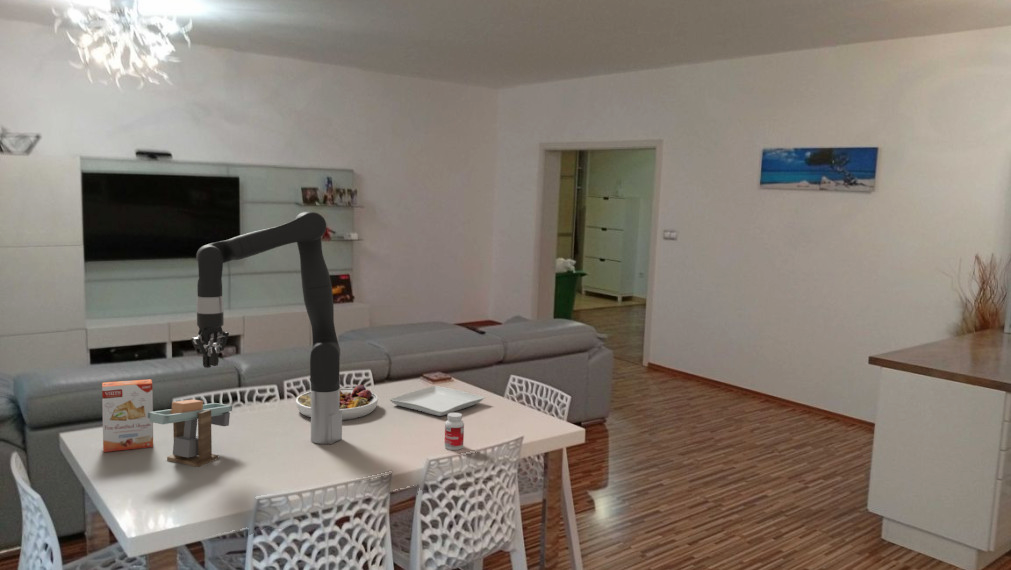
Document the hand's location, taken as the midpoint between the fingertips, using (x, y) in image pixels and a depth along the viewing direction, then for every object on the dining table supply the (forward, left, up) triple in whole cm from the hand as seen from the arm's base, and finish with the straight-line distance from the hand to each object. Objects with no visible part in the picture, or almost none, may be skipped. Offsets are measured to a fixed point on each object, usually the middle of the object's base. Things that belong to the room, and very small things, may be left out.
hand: (210, 366), depth 226 cm
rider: (0, +10, -13) cm, 16 cm away
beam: (0, +10, -25) cm, 27 cm away
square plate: (-38, -79, -28) cm, 92 cm away
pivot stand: (0, +8, -27) cm, 28 cm away
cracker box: (+25, +9, -27) cm, 38 cm away
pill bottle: (-65, -38, -27) cm, 80 cm away
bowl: (-8, -55, -28) cm, 62 cm away
